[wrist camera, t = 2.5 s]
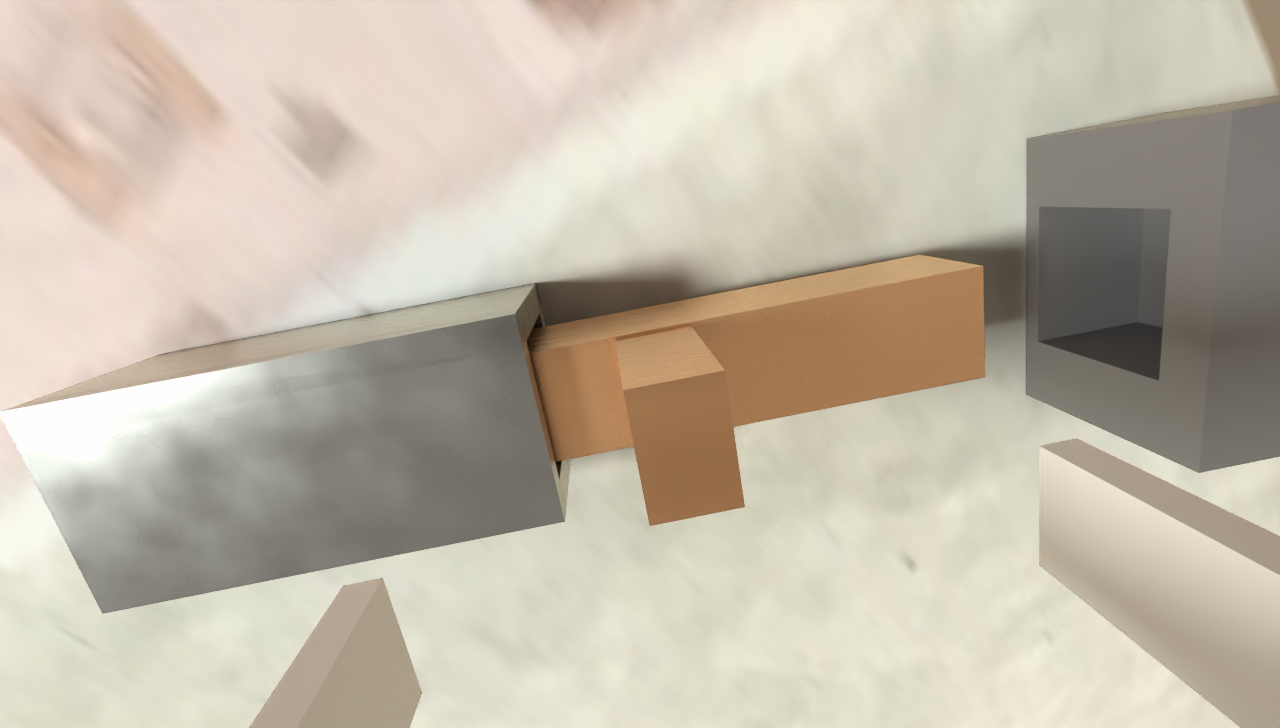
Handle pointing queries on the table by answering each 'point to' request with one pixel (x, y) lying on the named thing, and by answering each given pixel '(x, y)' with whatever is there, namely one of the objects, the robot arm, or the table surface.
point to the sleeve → (298, 450)
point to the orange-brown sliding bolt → (750, 368)
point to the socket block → (1160, 280)
